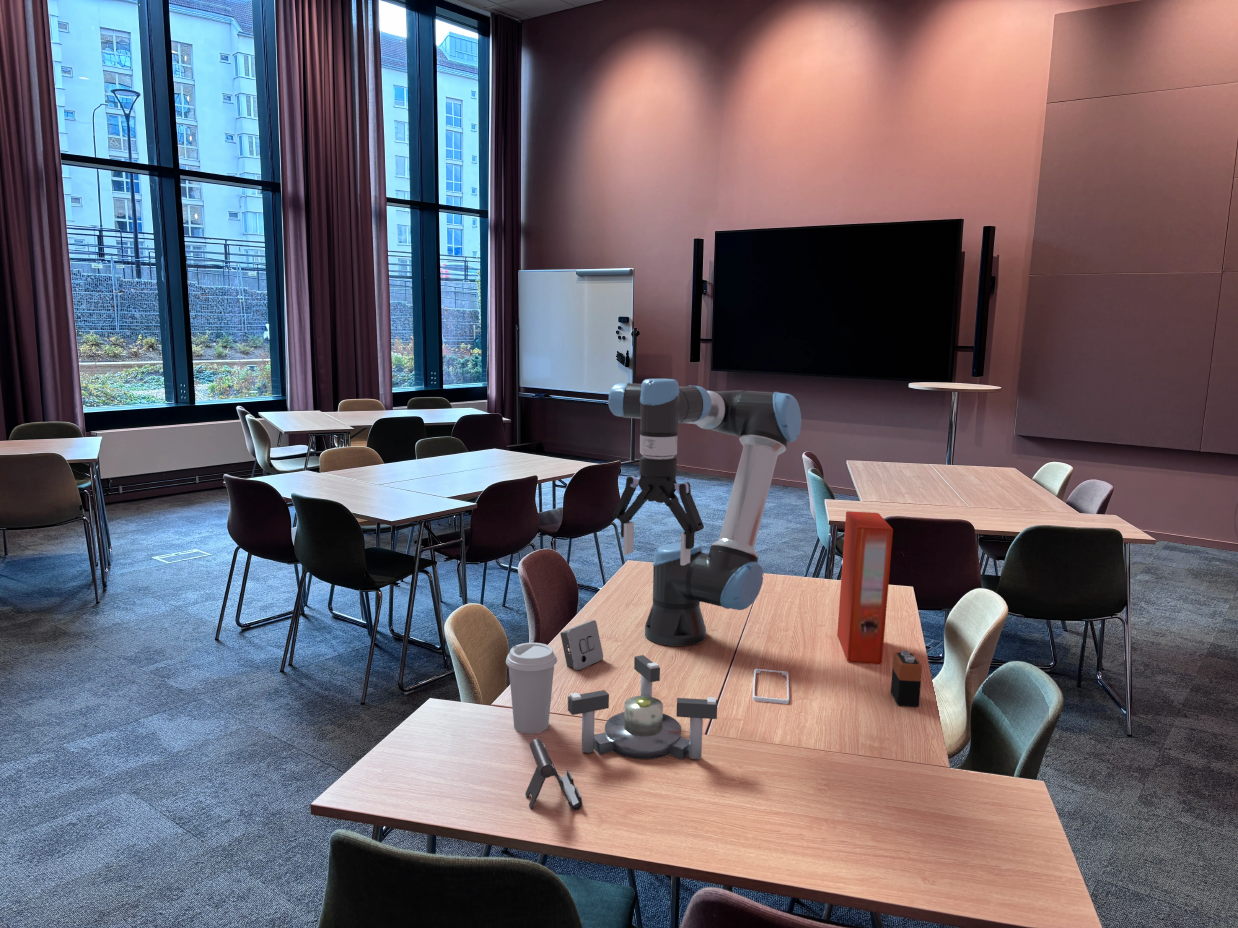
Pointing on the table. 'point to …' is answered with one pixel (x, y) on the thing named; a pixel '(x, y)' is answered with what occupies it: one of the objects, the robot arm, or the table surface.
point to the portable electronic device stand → (548, 770)
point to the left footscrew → (696, 719)
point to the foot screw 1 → (588, 713)
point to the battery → (906, 679)
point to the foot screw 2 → (646, 673)
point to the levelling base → (642, 743)
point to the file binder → (864, 587)
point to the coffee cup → (531, 685)
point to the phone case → (772, 700)
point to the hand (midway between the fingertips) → (656, 558)
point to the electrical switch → (582, 645)
